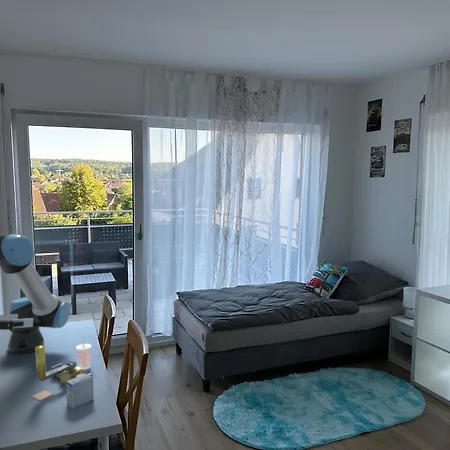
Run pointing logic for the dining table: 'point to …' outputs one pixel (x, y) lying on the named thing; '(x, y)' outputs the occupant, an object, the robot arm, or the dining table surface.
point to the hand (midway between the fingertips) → (24, 320)
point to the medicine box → (79, 390)
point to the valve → (68, 373)
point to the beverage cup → (84, 355)
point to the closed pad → (42, 395)
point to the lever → (42, 366)
